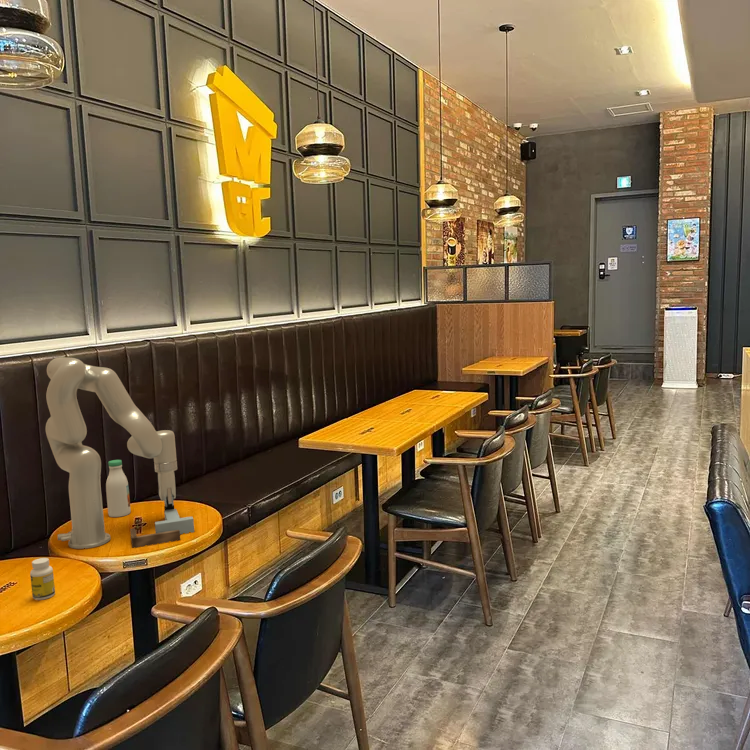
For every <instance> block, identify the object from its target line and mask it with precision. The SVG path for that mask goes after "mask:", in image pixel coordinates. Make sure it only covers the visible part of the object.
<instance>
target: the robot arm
mask: <svg viewBox="0 0 750 750" xmlns="http://www.w3.org/2000/svg"><path fill="white" fill-rule="evenodd" d="M46 366H47V367H46V375H47V376H48V378H49V379H50V381H49V382H48V386H47V390H46V393H45V395H46V403H47V408H48V410H49V414H50V417H49V418H48V419H47V421H46V423H45V434H46V438H47V441H48V443H49V446H50V449H51V452H52V455H53V457H54V459H55V462H56V464H57V467H59V468H60V469H61V470H63V471H65V472H67V473H69V478H68V498H69V506H70V520H71V530H70V531H68V532H67V533H59V534H57V541H61V542H65V541H68V543H67V544H68V547H69V548H71V549H75V550H76V549H77V550H81V549H84V548H85V549H91V548H96V547H100V546H103V545H104V544H105V545H106V544H107V543H108V542H110V540H111V534H109V533H107V532H106V530H105V520H104V519H105V518H104V517H105V516H104V509H103V496H102V487H101V474H102V460H101V456H100V454H99V453H98V451H96V450H95V448H92V447H90V446H88V445H84V444H83V441H84V440H85V439H86V436H87V432H88V430H87V425H86V422H85V419H84V417H83V414H82V412H81V411H82V410H81V409H80V405H79V402H78V401H79V400H78V399H77V396H78V395H77V393H78V389H80V390H82V391H87V392H92V393H95V394H96V395H97V397H98V399H99V400H100V402H101V404H102V405H103V407H104V408H105V411H106V412H107V413H108V415H109V417H110V418H111V419H112V420H113V421H114V422H115V423H116V424H118V425H120V426H121V427H123V428H124V429H125V430H126V431H127V432H128V433H129V434H130V435H131V436H130V437H129V438H128V440H127V442H126V447H127V449H128V451H129V452H130V453H131V454H133V455H135V456H138V457H143V458H146V459H153V462H154V463H153V464H154V472H155V473H157V483H158V495H159V499H160V501H162V502H164V506H163V507H164V511H165V510H171V509H175V504H174V500H175V499H176V477H175V471H177V470H178V461H177V460H178V459H177V449H176V438H175V437H176V436H175V433H174V431H173V430H170V429H169V430H168V429H167V430H166V429H164V430H163V429H162V430H158V431H157V430H156V429H155V426H154V425H153V424H152V422H151V421H150V420H149V419H148V417H146V416H145V414H144V413H143V412H142V411H141V410H140V409H139V408H138V406H136V404H135V403H134V401H133V399H132V398H131V396H130V394H129V393H128V391H127V390H126V387H125V386H124V384H123V382H122V380H121V379H120V378H119V376H118V374H117V373H116V371H115V370H113V369H111V368H110V367H109V368H108V367H102V366H95V365H90V364H86V363H84V362H83V360H80V359H79V358H75V357H65V356H64V357H62V356H61V357H60V356H59V357H56V358H53V359H52V360H50V362H48V364H47V365H46ZM85 549H84V550H85Z"/></svg>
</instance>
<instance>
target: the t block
mask: <svg viewBox="0 0 750 750" xmlns="http://www.w3.org/2000/svg"><path fill="white" fill-rule="evenodd" d="M163 512H164V520H160V521H155V522H154V529H155V533H161V532H167V531H173V530H179V531H180V535H183V533H185V534H190V533H189V532H191V533H194V532H195V523H194V518H193V516H186V517H180V515H179V513H178V510H177V508H174V509H171V510H165V509H164V511H163Z"/></svg>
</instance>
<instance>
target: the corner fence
mask: <svg viewBox="0 0 750 750" xmlns="http://www.w3.org/2000/svg"><path fill="white" fill-rule="evenodd" d="M129 531H130V540H131V547H132V548H133V549H135V548H140V546H141V547H146V546H145V545H147V546H151V545H152V544H153V545H158V544H157V543H159V544H164V542H165V543H170V542H169V541H171V542H176V540H177V541H181V534H180V531H179V530H173V531H167V532H161V533H156V532H155V533H149V534H144V535H137V531H136V528H134V527H133V528H130V530H129ZM134 547H135V548H134Z"/></svg>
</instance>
